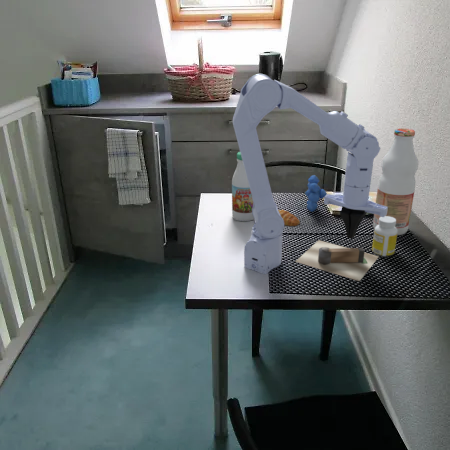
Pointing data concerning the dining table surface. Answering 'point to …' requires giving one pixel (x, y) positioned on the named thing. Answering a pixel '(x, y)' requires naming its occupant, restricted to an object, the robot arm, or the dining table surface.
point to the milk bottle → (241, 194)
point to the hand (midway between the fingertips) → (350, 236)
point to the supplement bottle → (385, 236)
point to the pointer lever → (340, 255)
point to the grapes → (314, 193)
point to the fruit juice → (398, 180)
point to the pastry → (289, 218)
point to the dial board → (340, 268)
